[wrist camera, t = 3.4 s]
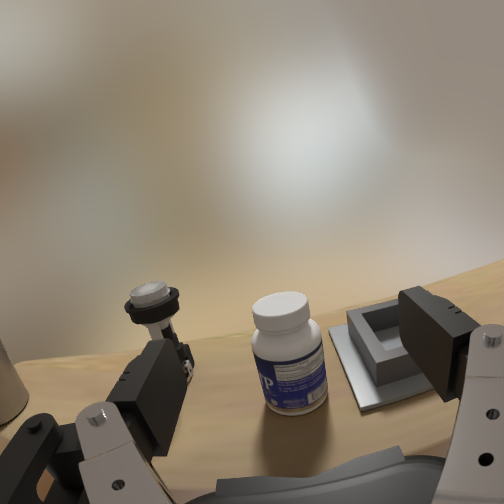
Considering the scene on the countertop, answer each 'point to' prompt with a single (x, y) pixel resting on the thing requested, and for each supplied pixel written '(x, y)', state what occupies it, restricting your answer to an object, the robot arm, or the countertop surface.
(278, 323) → the pill bottle
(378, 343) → the socket
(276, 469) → the countertop surface
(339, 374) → the countertop surface
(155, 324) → the push button
